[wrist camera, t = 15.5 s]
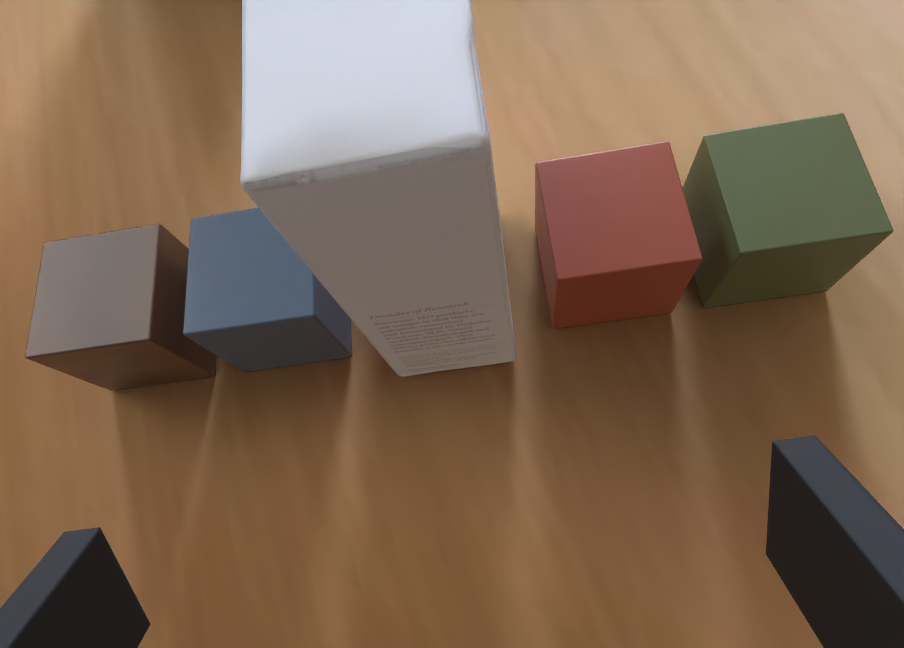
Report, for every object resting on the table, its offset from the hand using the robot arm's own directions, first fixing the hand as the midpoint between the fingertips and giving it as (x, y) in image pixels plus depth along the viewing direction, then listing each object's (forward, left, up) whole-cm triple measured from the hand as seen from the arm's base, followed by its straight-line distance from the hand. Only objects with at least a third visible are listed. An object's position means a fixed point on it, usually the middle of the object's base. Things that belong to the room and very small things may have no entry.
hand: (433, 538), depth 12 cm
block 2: (-5, +8, -7) cm, 12 cm away
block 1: (-10, +8, -7) cm, 15 cm away
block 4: (+11, +8, -7) cm, 15 cm away
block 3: (+6, +8, -7) cm, 12 cm away
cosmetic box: (0, +8, -7) cm, 11 cm away
